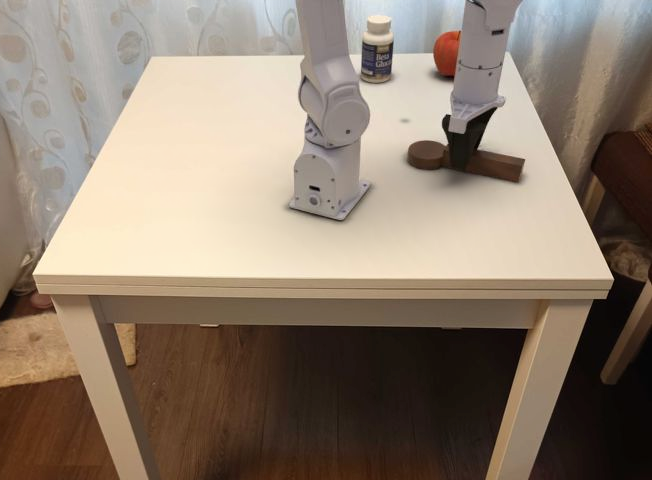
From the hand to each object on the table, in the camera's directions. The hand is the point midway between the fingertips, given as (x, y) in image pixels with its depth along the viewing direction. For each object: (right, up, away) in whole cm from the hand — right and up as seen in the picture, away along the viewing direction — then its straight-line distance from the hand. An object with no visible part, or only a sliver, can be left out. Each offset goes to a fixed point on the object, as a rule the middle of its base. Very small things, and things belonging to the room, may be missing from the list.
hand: (463, 158), depth 90 cm
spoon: (0, -1, +1) cm, 1 cm away
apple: (+4, +22, +23) cm, 32 cm away
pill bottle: (-10, +21, +23) cm, 33 cm away
